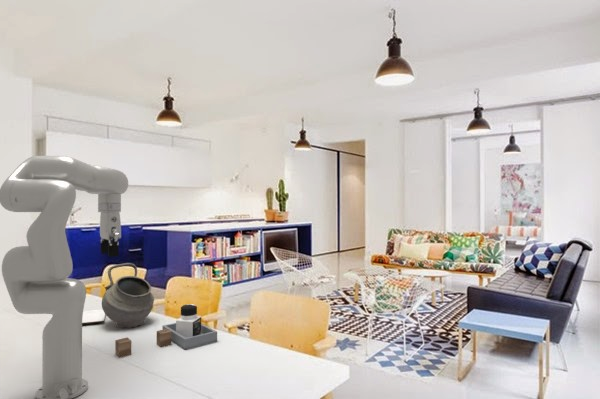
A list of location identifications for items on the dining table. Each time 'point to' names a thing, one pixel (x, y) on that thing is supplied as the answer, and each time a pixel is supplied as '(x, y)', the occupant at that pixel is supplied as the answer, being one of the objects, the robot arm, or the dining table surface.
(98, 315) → the plate
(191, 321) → the medicine bottle
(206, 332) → the tray
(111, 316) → the pot
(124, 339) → the left walnut block
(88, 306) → the dining table surface
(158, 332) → the right walnut block
